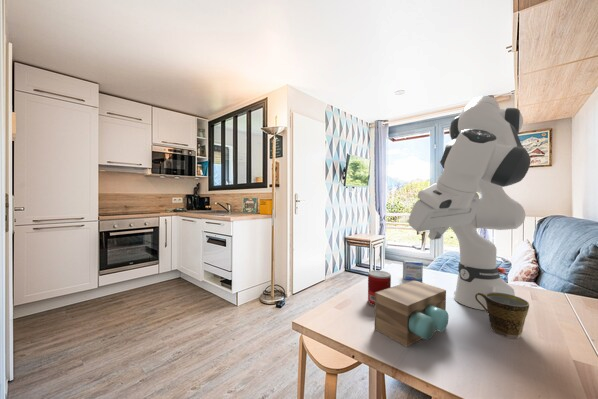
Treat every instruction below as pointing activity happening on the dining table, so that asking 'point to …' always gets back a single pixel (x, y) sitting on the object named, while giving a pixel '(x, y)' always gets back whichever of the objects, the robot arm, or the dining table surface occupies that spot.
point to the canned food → (377, 283)
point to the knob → (437, 317)
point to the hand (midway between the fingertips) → (434, 237)
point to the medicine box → (412, 270)
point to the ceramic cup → (505, 313)
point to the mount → (407, 311)
